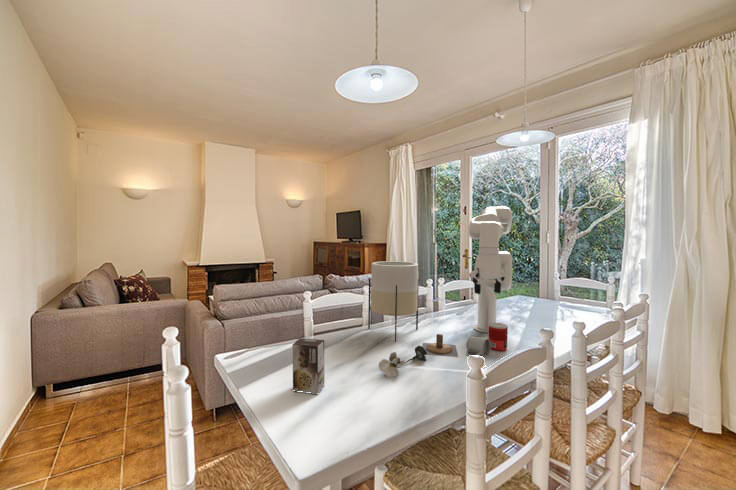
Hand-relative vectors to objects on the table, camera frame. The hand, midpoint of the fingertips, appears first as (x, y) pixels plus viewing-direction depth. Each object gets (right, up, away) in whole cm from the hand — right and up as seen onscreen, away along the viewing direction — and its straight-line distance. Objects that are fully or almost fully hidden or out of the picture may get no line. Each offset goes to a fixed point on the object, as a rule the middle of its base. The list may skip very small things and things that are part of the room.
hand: (487, 293), depth 142 cm
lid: (-18, -26, +10) cm, 33 cm away
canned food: (+9, -27, +13) cm, 32 cm away
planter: (-38, -26, +34) cm, 57 cm away
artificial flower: (-35, -28, -9) cm, 46 cm away
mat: (-18, -27, +10) cm, 34 cm away
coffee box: (-69, -28, -28) cm, 80 cm away
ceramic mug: (-3, -28, +5) cm, 28 cm away
